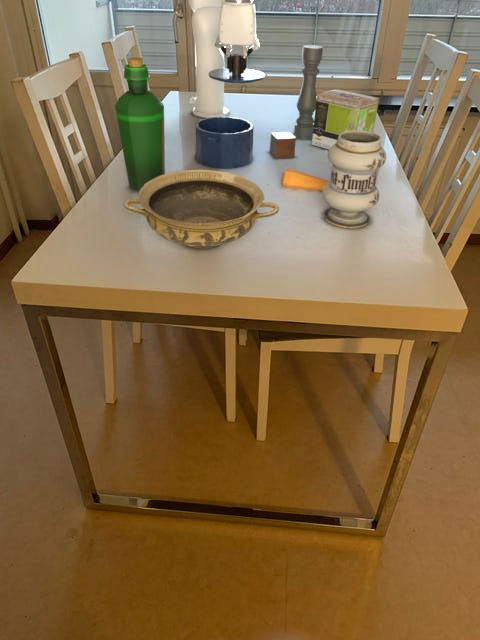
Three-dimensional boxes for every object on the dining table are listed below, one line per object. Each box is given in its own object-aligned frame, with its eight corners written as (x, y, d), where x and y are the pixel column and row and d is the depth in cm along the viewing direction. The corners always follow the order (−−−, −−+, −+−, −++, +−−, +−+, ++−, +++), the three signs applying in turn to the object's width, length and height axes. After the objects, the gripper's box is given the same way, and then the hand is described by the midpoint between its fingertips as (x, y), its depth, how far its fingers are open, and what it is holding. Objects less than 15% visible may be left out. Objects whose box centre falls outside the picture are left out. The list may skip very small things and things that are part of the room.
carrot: (279, 190, 121) (281, 176, 117) (282, 177, 123) (284, 163, 119) (358, 205, 119) (363, 192, 115) (360, 192, 121) (365, 179, 117)
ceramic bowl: (116, 268, 89) (108, 218, 83) (139, 211, 107) (134, 167, 101) (279, 273, 89) (283, 224, 83) (273, 215, 108) (277, 171, 102)
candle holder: (313, 133, 155) (323, 45, 140) (313, 139, 150) (324, 49, 135) (293, 132, 155) (302, 44, 140) (293, 138, 150) (302, 47, 135)
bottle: (176, 182, 121) (169, 57, 104) (157, 198, 113) (146, 66, 96) (138, 175, 123) (125, 52, 106) (116, 191, 116) (99, 61, 98)
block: (269, 152, 140) (271, 133, 137) (287, 151, 141) (289, 131, 138) (276, 159, 136) (277, 139, 133) (294, 157, 137) (296, 137, 134)
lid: (200, 81, 139) (199, 57, 135) (218, 70, 151) (218, 48, 147) (256, 87, 135) (257, 62, 131) (270, 75, 148) (271, 52, 144)
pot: (184, 167, 129) (182, 132, 123) (210, 143, 145) (209, 111, 139) (240, 175, 126) (241, 140, 120) (260, 149, 142) (261, 117, 136)
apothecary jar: (316, 205, 112) (327, 125, 101) (368, 207, 112) (384, 127, 101) (322, 229, 103) (334, 144, 92) (378, 231, 103) (397, 147, 92)
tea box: (370, 150, 144) (381, 97, 135) (352, 158, 138) (361, 103, 129) (329, 138, 152) (336, 87, 143) (310, 145, 146) (316, 92, 137)
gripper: (269, -3, 133) (265, 71, 145) (210, -5, 134) (211, 68, 146) (267, 0, 127) (263, 76, 139) (206, -3, 128) (207, 73, 140)
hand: (236, 71), depth 142 cm, fingers closed on lid, 2 cm apart
